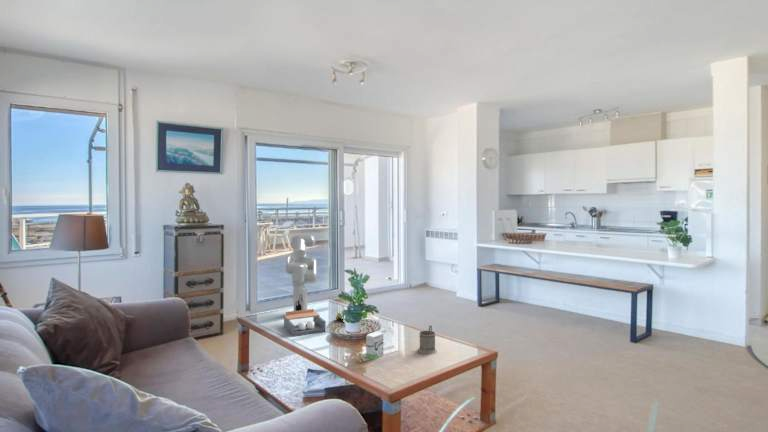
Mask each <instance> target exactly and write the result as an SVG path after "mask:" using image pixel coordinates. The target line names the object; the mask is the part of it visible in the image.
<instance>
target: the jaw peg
mask: <svg viewBox="0 0 768 432" xmlns="http://www.w3.org/2000/svg"><path fill="white" fill-rule="evenodd" d="M306 325H307V323H306V322H303V321H301V322H298V326H299V329H298V331H306Z"/></svg>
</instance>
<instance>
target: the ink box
mask: <svg viewBox="0 0 768 432" xmlns="http://www.w3.org/2000/svg"><path fill="white" fill-rule="evenodd" d="M365 340H366V341H365V346H366V348H365V350H366V351H365V353H366V354H365V356H366V359H368V360H372V361H374V360H376V359H379V358H381V357H382V356H384V332H380V331H377V330H376V331H373V332H371V333H368V334H367V335H365Z"/></svg>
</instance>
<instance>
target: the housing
mask: <svg viewBox="0 0 768 432" xmlns="http://www.w3.org/2000/svg"><path fill="white" fill-rule="evenodd" d="M312 318H313V320H310V321H307V323H306V331H298V329H299V325H297V326H296V325H294V323H293V322H292V320H287V319H286V318H285V317H284V316H283V327H284V329H286V331H287V333H289V334H290V336H291V337H298V336H299V337H300V336H302V337H303V336H307V335H313V334H314V335H315V334H322V333H326V329H327V328H326V323H327V322H326V320H325V319H323V317H321V315H320V316H317V317H312Z"/></svg>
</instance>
